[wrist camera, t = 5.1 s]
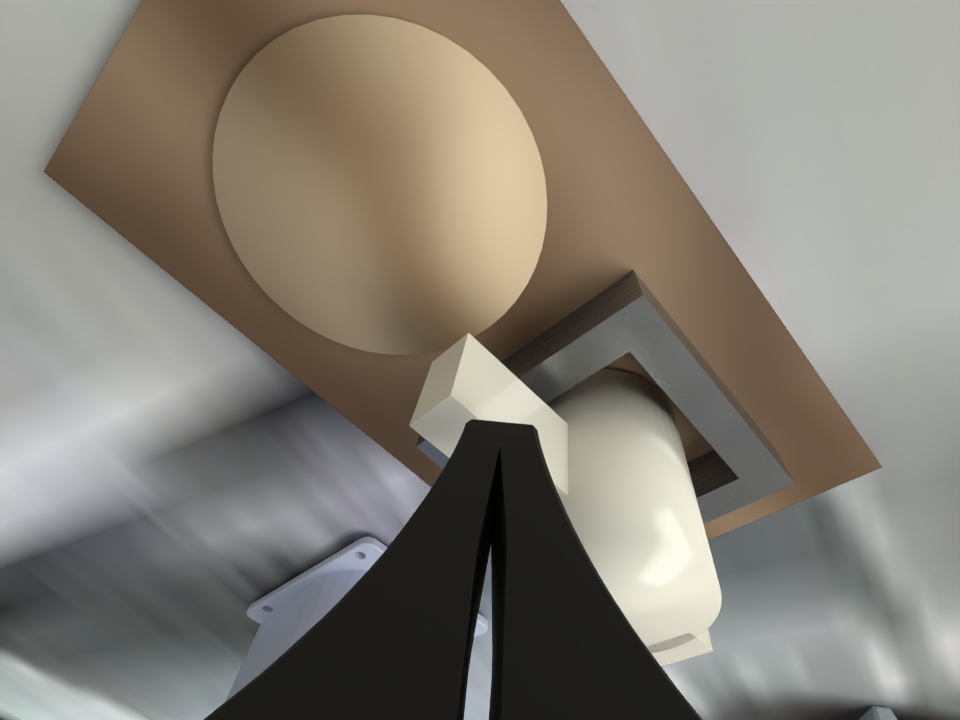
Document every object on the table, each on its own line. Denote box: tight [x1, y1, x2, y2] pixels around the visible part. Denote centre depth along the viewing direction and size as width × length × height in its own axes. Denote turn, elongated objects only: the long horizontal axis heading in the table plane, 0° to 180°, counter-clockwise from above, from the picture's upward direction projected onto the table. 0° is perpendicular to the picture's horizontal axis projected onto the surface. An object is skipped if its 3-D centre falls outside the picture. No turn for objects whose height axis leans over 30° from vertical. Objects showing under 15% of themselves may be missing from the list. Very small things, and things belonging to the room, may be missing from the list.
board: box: [44, 0, 882, 540], centre depth 17 cm, size 13×24×1 cm, turn 42°
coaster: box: [212, 15, 547, 355], centre depth 14 cm, size 9×9×1 cm
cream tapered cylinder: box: [409, 333, 722, 667], centre depth 15 cm, size 9×5×6 cm, turn 45°
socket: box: [416, 270, 795, 524], centre depth 17 cm, size 8×8×2 cm
